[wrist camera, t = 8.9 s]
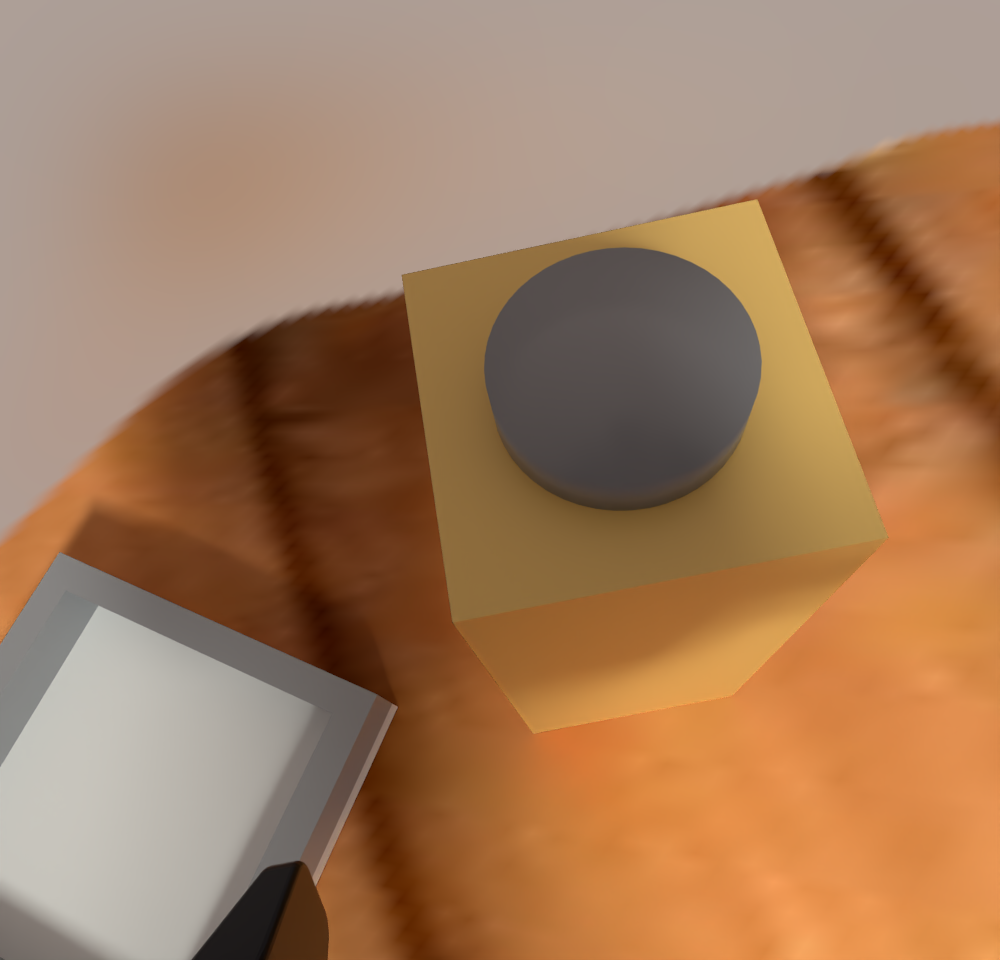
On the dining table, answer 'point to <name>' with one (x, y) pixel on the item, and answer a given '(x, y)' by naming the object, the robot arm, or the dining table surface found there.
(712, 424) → the tan tall block
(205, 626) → the tray
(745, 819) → the dining table surface
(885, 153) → the dining table surface
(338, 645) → the dining table surface
